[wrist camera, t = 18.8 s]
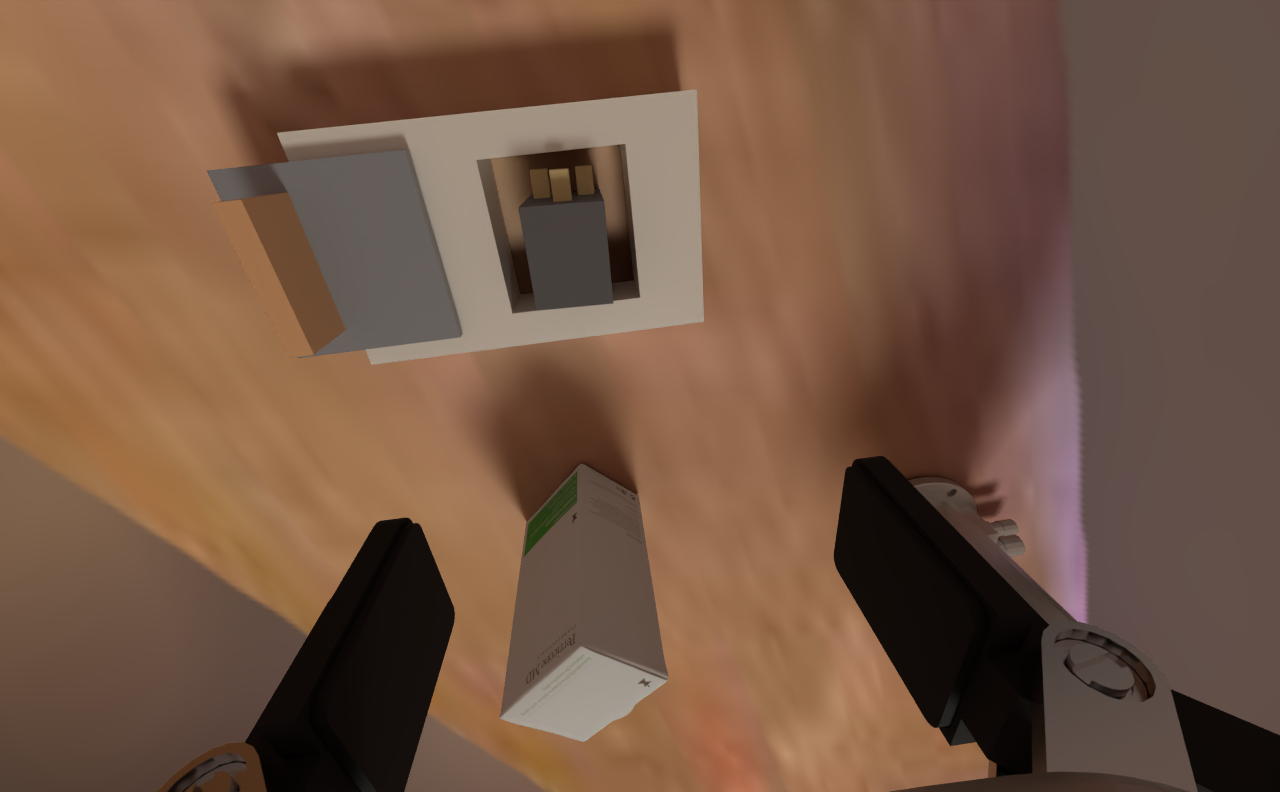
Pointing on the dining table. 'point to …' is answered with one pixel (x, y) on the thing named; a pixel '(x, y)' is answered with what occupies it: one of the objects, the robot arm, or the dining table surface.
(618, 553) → the skincare box
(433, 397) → the dining table surface
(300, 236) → the shutter
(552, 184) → the plug
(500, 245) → the socket block
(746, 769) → the dining table surface
